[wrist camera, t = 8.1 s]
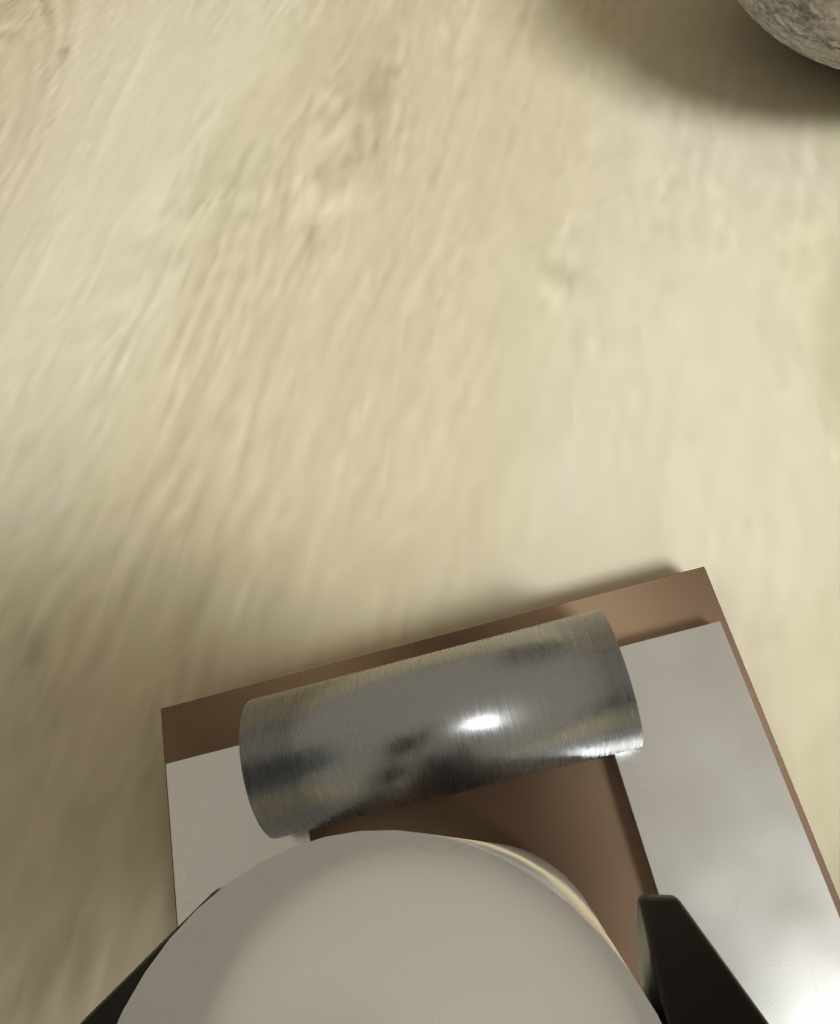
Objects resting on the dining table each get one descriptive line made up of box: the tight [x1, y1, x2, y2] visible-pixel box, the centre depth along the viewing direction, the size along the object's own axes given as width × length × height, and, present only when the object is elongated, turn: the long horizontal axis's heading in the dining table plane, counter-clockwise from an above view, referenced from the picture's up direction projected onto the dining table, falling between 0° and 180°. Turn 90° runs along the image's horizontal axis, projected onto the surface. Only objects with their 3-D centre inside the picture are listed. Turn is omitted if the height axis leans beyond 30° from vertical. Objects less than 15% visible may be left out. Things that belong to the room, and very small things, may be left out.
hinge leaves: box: [166, 609, 840, 1024], centre depth 15 cm, size 13×12×3 cm
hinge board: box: [161, 567, 840, 988], centre depth 17 cm, size 14×14×1 cm
